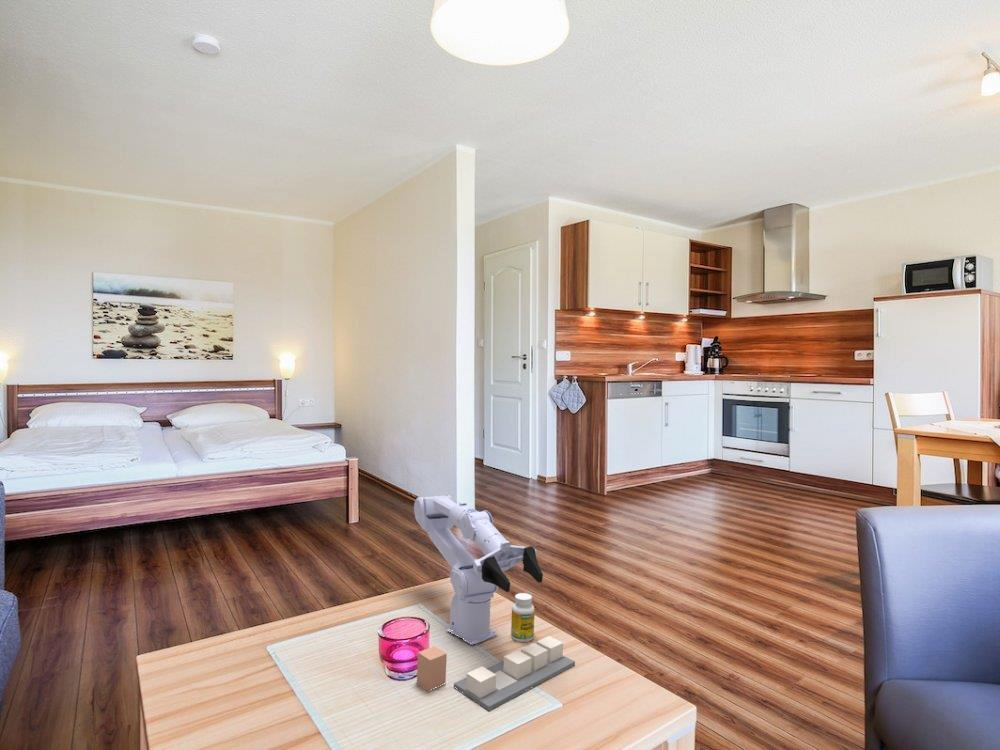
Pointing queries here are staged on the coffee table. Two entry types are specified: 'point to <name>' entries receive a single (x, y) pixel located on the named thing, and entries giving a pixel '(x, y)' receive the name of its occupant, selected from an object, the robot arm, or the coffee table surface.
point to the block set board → (519, 684)
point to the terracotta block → (431, 668)
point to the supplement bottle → (522, 618)
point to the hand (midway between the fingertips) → (524, 583)
